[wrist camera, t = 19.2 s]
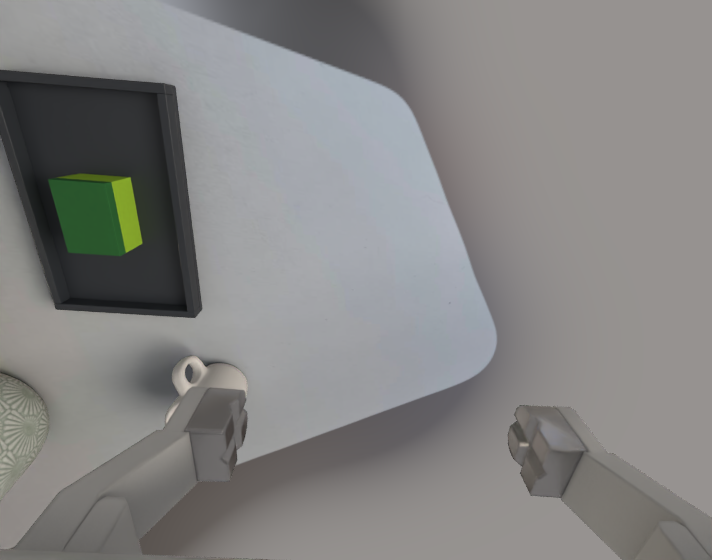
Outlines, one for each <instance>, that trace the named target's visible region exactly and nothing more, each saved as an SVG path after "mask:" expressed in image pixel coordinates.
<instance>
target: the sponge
mask: <svg viewBox="0 0 712 560" xmlns="http://www.w3.org/2000/svg"><path fill="white" fill-rule="evenodd" d="M48 181H49V185H50V189H51V192H52V196H53V199H54V203H55V207H56V210H57V214H58V218H59V221H60V225H61V228H62V232H63V236H64V239H65V243H66V246H67V250H68V253H80V254H95V255H110V256H121V255H123V254H125V253H127V252H129V251H130V250H132V249H134V248H136V247H137V246H139V245H141V244H142V238H141V232H140V227H139V221H138V216H137V210H136V205H135V199H134V194H133V188H132V183H131V178H130V177H120V176H107V175H94V174H81V173H79V174H74V175H68V176H63V177H57V178H52V179H48Z"/></svg>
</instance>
